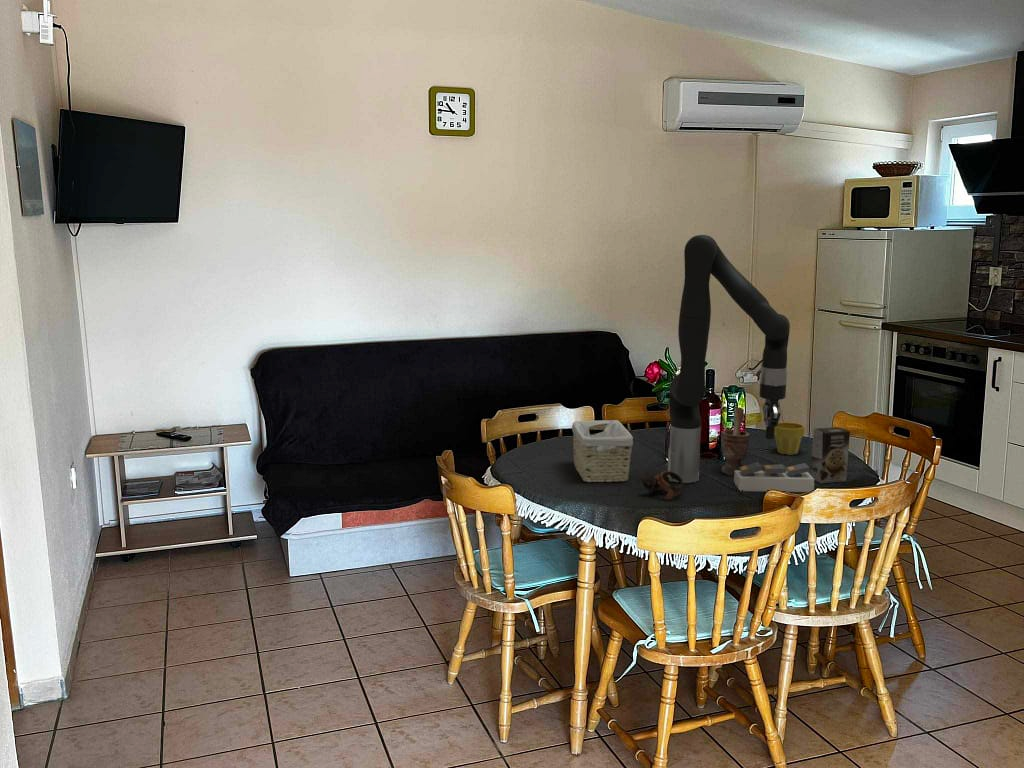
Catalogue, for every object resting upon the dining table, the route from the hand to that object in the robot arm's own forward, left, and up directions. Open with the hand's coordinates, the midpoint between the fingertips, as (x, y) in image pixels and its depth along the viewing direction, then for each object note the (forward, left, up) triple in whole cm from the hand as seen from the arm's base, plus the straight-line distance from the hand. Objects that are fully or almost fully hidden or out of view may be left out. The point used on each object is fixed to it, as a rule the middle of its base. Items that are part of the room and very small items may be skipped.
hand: (769, 438), depth 275 cm
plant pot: (+16, +40, -16) cm, 46 cm away
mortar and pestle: (-7, +17, -16) cm, 24 cm away
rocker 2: (+2, 0, -9) cm, 10 cm away
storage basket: (-50, +13, -16) cm, 54 cm away
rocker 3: (+9, 0, -9) cm, 13 cm away
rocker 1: (-5, 0, -9) cm, 11 cm away
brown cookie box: (+21, +9, -16) cm, 27 cm away
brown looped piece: (-33, -9, -16) cm, 37 cm away
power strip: (+2, 0, -15) cm, 15 cm away
